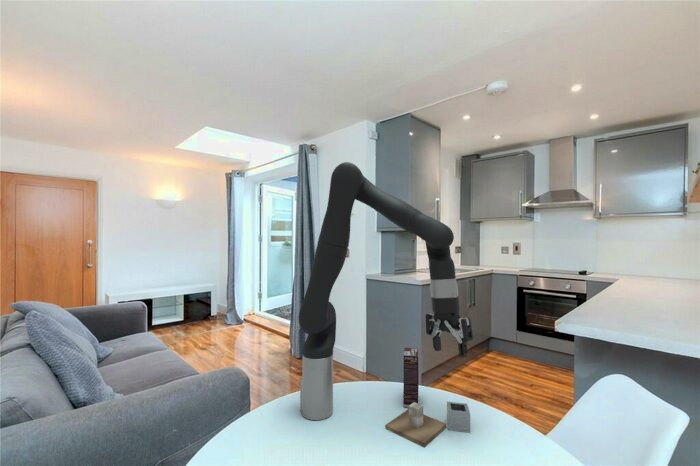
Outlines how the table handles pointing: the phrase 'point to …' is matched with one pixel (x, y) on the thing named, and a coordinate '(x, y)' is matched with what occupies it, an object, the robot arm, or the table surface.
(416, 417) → the post stand
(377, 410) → the table surface
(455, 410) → the collar
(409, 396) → the supplement box
